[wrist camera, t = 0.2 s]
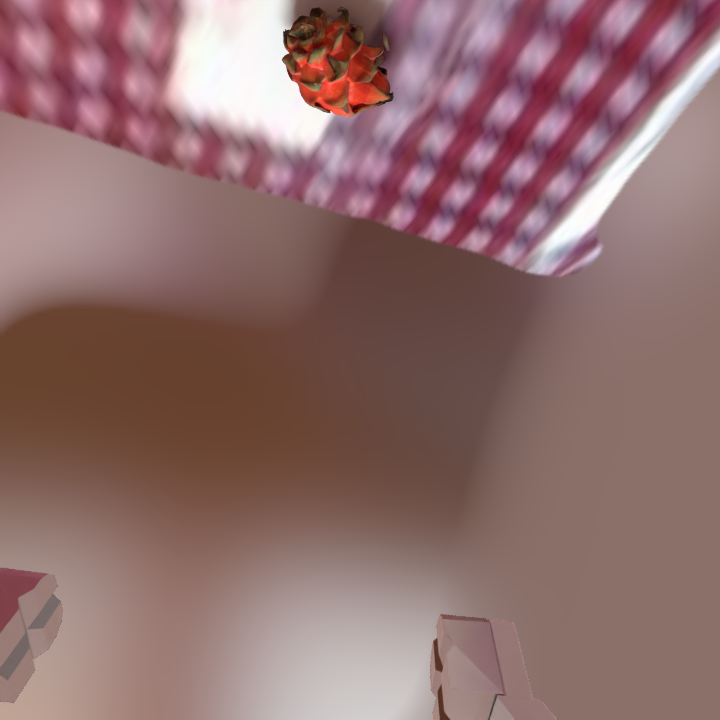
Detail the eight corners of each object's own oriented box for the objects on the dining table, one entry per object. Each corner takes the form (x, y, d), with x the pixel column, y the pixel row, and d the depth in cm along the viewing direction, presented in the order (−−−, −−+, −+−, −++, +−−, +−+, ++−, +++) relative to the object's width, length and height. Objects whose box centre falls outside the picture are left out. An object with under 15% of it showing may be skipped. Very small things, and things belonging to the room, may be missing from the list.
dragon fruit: (288, -8, 51) (389, 59, 57) (255, 81, 53) (356, 137, 59) (313, -26, 44) (427, 53, 49) (274, 78, 46) (387, 142, 51)
